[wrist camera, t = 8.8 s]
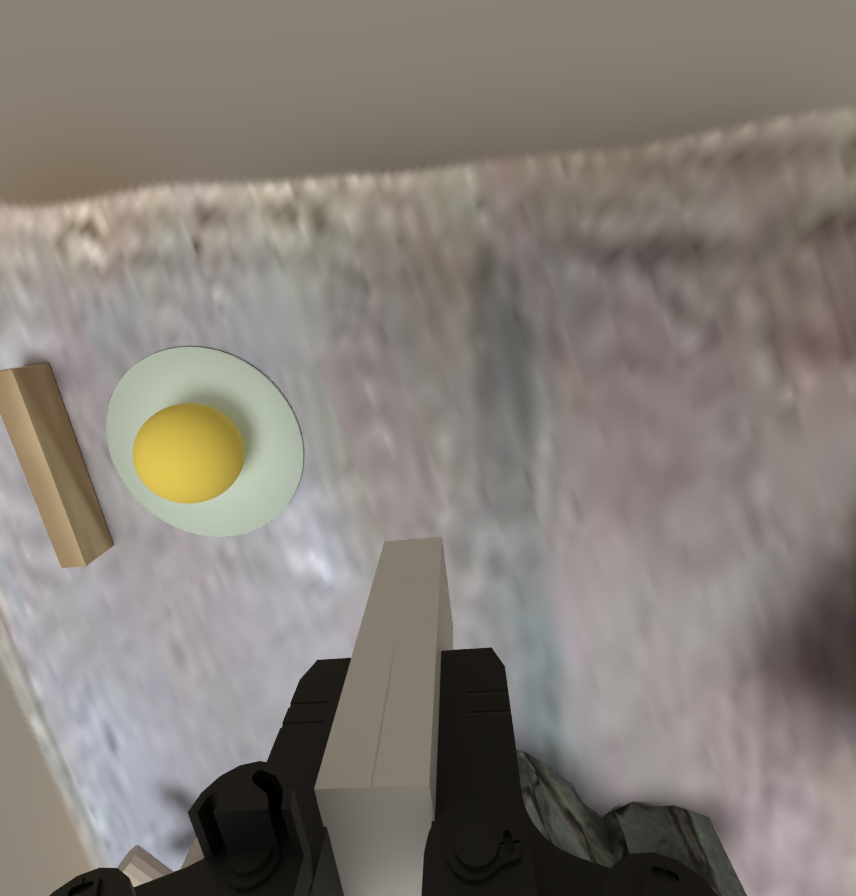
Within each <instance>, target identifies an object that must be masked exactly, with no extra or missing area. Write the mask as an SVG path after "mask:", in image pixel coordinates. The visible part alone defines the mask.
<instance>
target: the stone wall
mask: <svg viewBox="0 0 856 896" xmlns="http://www.w3.org/2000/svg"><path fill="white" fill-rule="evenodd" d="M516 753H517V760H518V768H519V775H520V783H521V790H522V796H523V800H524V804H525V807H526V810H527V812H528V814H529V816H530V818H531V820H532V822H533V824H534V825H535V826H536V827H537V829H538V830H539V831H540V832H541V833H542V834H543V836H544V837H545V838H546V839H548V840H549V841H550V842H552V843H553V844H554V845H555V846H557V847H558V848H559V849H561V850H563V851H566V852H568V853H570V854H572V855H574V856H576V857H579V858H582V859H585V860H588V861H591V862H594V863H596V864H599V865H602V866H605V867H608V868H612V866H613V865H614V864H615V863H617V862H618V861H620V860H621V859H623V858H625V857H626V856H628V855H629V854H632V853H646V852H655V853H658V854H661V855H664V856H667V857H670V858H673V859H676V860H679V861H680V862H681V863H683V864H684V865H686V866H687V867H689V868H690V869H691V870H693V871H694V872H696V873H697V874H699V875H700V876H701V877H703V879H704V880H705V881H706V882H707V883H708V884H709V886H710V887H711V888H712V889H713V890H714V891H715V893H716V894H717V895H718V896H747V895H746V893H745V891H744V889H743V887H742V885H741V883H740V881H739V879H738V877H737V875H736V873H735V870H734V868H733V866H732V864H731V862H730V860H729V858H728V856H727V854H726V852H725V850H724V848H723V846H722V844H721V842H720V840H719V838H718V836H717V834H716V832H715V830H714V828H713V826H712V824H711V822H710V819H709V817H706V816H703V815H700V814H697V813H695V812H692V811H689V810H686V809H683V808H680V807H677V806H658V807H650V808H643V807H641V806H639V805H637V804H635V803H634V802H631V803H629V804H627V805H625V806H623V807H621V808H619V809H617V810H613V811H612V812H610V813H608V814H607V815H605V816H604V817H603V818H602V817H601V816H600V815H598V814H597V813H596V812H594V811H593V810H592V809H590V808H589V807H588V806H586V805H585V804H584V803H583V802H582V800H581V799H580V797H579V796H578V794H577V793H576V791H575V790H574V788H573V787H572V785H571V784H570V783H569V782H568V781H566V780H565V779H563V778H562V777H561V776H559V775H558V774H557V773H555V772H554V771H553V770H551V769H550V768H549V767H547V766H546V765H544V764H543V763H541V762H540V761H538V760H536V759H535V758H533V757H532V756H530V755H529V754H527V753H525V752H524V751H517V750H516Z"/></svg>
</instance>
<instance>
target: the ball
mask: <svg viewBox="0 0 856 896" xmlns="http://www.w3.org/2000/svg"><path fill="white" fill-rule="evenodd" d="M244 458H245V448H244V442H243V439H242V436H241V434H240V432H239V430H238V429H237V427H236V426H235V424H234V423H233V422H232V421H231V420H230V419H229V418H228V417H227V416H226V415H224V414H223V413H221V412H220V411H218V410H216V409H214V408H212V407H209V406H206V405H202V404H195V403H183V404H176V405H172V406H169V407H166V408H164V409H162V410H160V411H158V412H157V413H155V414H154V415H152V416H151V417H150V418H149V419H148V420H147V421H146V422H145V423H144V424H143V425H142V426H141V428H140V430H139V431H138V433H137V436H136V438H135V441H134V446H133V462H134V466H135V469H136V472H137V474H138V476H139V478H140V479H141V481H142V482H143V483H144V484H145V486H146V487H147V488H148V489H150V490H151V491H152V492H153V493H155V494H156V495H158V496H160V497H162V498H164V499H167V500H169V501H173V502H177V503H185V504H192V503H200V502H205V501H208V500H211V499H213V498H215V497H217V496H219V495H221V494H222V493H224V492H225V491H226V490H228V489H229V488H230V487H231V486H232V485H233V483H234V482H235V481H236V479H237V478H238V476H239V474H240V472H241V470H242V468H243V464H244Z"/></svg>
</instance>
